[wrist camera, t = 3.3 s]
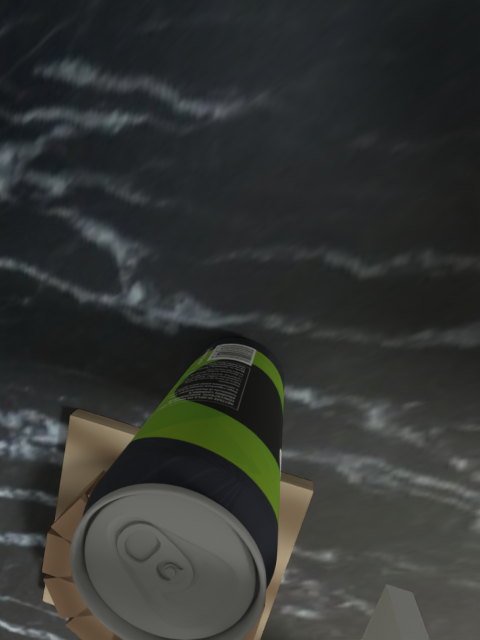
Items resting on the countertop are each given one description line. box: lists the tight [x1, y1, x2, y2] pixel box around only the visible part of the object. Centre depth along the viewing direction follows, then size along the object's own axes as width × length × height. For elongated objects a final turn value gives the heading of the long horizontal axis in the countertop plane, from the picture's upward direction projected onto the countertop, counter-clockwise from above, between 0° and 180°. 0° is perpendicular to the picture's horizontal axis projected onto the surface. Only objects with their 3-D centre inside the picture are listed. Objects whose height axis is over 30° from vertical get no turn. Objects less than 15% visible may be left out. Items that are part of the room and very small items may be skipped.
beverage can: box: [70, 338, 284, 640], centre depth 17 cm, size 6×6×15 cm
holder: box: [42, 409, 313, 640], centre depth 26 cm, size 18×18×4 cm
